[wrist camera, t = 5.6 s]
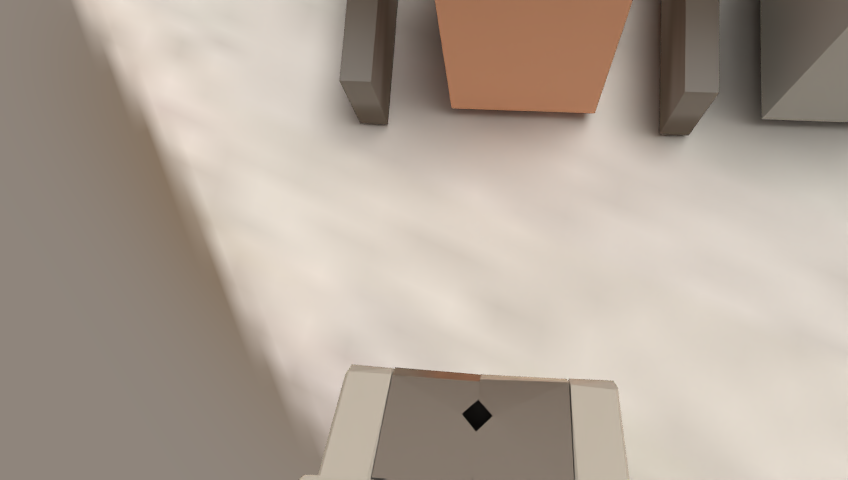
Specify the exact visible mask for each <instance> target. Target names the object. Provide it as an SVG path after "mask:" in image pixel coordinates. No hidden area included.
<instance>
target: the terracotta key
mask: <svg viewBox="0 0 848 480" xmlns="http://www.w3.org/2000/svg"><path fill="white" fill-rule="evenodd" d="M632 1H633V0H435V5H436V11H437V18H438V24H439V30H440V37H441V43H442V50H443V56H444V63H445V69H446V75H447V82H448V88H449V95H450V101H451V107H452V108H458V109H486V110H515V111H544V112H573V113H595V111H596V108H597V105H598V102H599V99H600V96H601V93H602V90H603V87H604V84H605V81H606V78H607V75H608V72H609V69H610V66H611V63H612V60H613V57H614V55H615V52H616V49H617V46H618V43H619V40H620V37H621V34H622V31H623V28H624V25H625V22H626V19H627V16H628V13H629V10H630V7H631V4H632Z"/></svg>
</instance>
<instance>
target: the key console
mask: <svg viewBox="0 0 848 480" xmlns="http://www.w3.org/2000/svg"><path fill="white" fill-rule="evenodd" d="M397 3H398V0H347V8H346V18H345V29H344V40H343V50H342V61H341V72H340V82H341V85H342V87H343V89H344V91H345V93H346V95H347V97H348V99H349V101H350V103H351V105H352V107H353V109H354V111H355V113H356V115H357V117H358V119H359V121H360V123H370V124H388V114H389V102H390V90H391V77H392V65H393V53H394V40H395V28H396V16H397ZM718 94H719V0H661V55H660V121H659V134H667V135H689V134H690V133H691V131H692V130H693V128H694V127H695V126H696V124H697V123H698V121H699V120H700V119H701V117H702V116H703V114H704V113H705V112H706V110H707V109H708V108H709V106H710V105H711V103H712V102H713V101H714V99H715V98H716V96H717V95H718Z"/></svg>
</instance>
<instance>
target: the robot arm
mask: <svg viewBox="0 0 848 480" xmlns="http://www.w3.org/2000/svg"><path fill="white" fill-rule="evenodd" d="M299 480H629V472H628V464H627V457H626V449H625V441H624V433H623V425H622V418H621V410H620V402H619V394H618V387H617V386H616V384H615V383H614V381H606V380H585V379H569V380H567V379H556V378H538V377H519V376H501V375H482V374H481V375H478V374H466V373H454V372H443V371H431V370H419V369H408V368H396V367H395V369H394V368H384V367H373V366H362V365H351V367H350V368H349V370H348V371H347V373H346V374H345V378H344V382H343V385H342V389H341V393H340V396H339V400H338V403H337V407H336V411H335V414H334V418H333V422H332V425H331V429H330V432H329V436H328V440H327V443H326V447H325V451H324V454H323V458H322V462H321V465H320V469H319V472H318V475H303V476H302V477H301V478H300V479H299Z"/></svg>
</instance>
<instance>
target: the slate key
mask: <svg viewBox="0 0 848 480" xmlns="http://www.w3.org/2000/svg"><path fill="white" fill-rule="evenodd" d="M760 4H761V107H762V119H771V120H800V121H829V122H848V0H760Z"/></svg>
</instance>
